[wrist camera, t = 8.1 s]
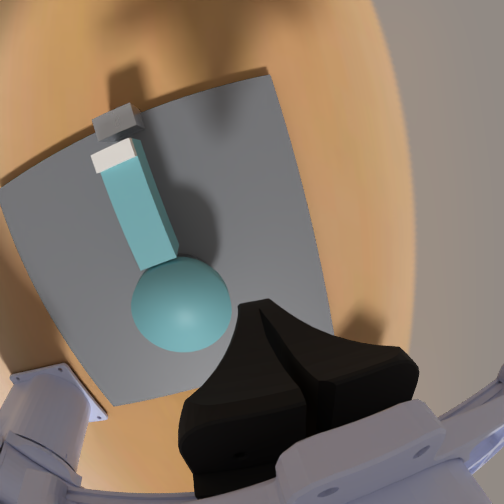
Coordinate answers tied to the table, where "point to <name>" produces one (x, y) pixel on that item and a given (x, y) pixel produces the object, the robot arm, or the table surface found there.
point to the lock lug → (118, 123)
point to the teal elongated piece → (161, 259)
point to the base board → (185, 228)
